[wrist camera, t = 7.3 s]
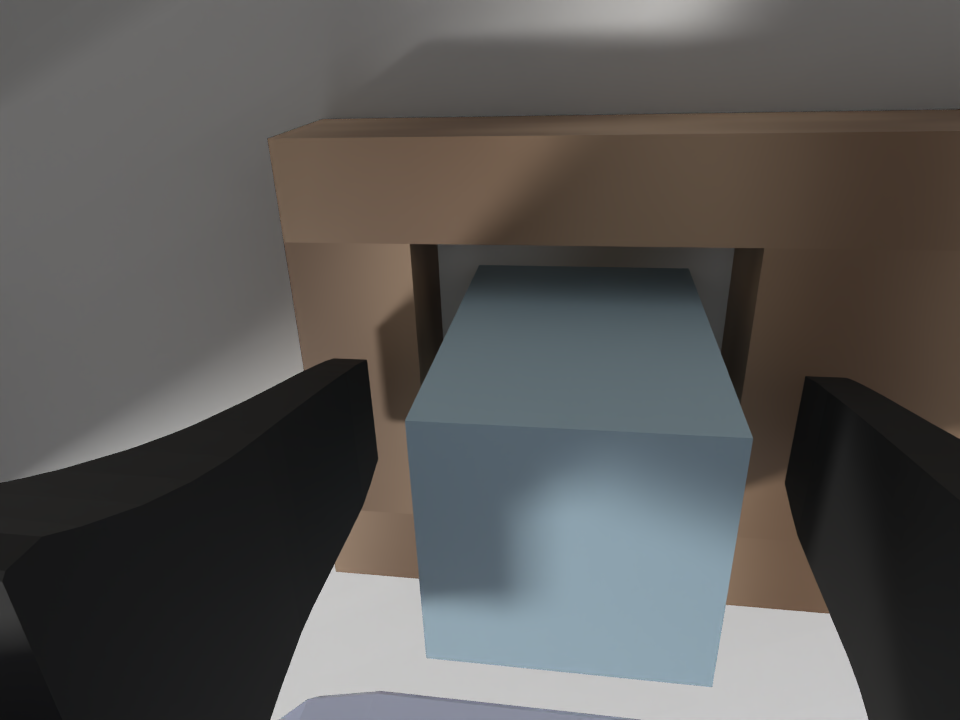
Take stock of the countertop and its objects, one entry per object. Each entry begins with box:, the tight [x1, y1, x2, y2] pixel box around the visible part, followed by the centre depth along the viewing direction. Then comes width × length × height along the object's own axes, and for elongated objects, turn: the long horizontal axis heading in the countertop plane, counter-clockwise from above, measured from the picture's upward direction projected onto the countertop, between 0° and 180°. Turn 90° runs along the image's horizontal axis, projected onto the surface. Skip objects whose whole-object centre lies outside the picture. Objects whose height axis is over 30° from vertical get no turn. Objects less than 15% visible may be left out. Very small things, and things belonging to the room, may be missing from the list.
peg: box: [405, 265, 753, 687], centre depth 12 cm, size 4×4×6 cm
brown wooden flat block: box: [268, 109, 960, 613], centre depth 13 cm, size 20×9×2 cm, turn 92°
